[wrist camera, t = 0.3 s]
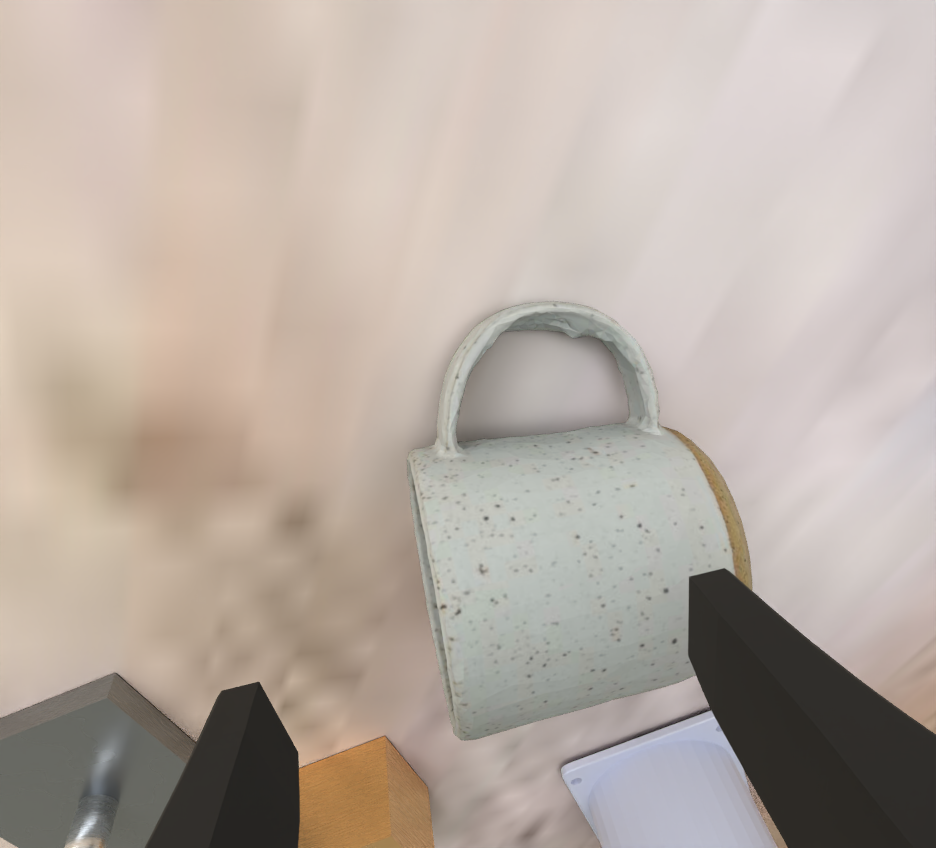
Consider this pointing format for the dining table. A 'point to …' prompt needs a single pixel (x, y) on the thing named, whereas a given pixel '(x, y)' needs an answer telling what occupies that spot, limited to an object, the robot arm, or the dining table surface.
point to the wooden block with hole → (364, 801)
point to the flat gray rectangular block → (88, 769)
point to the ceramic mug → (564, 545)
